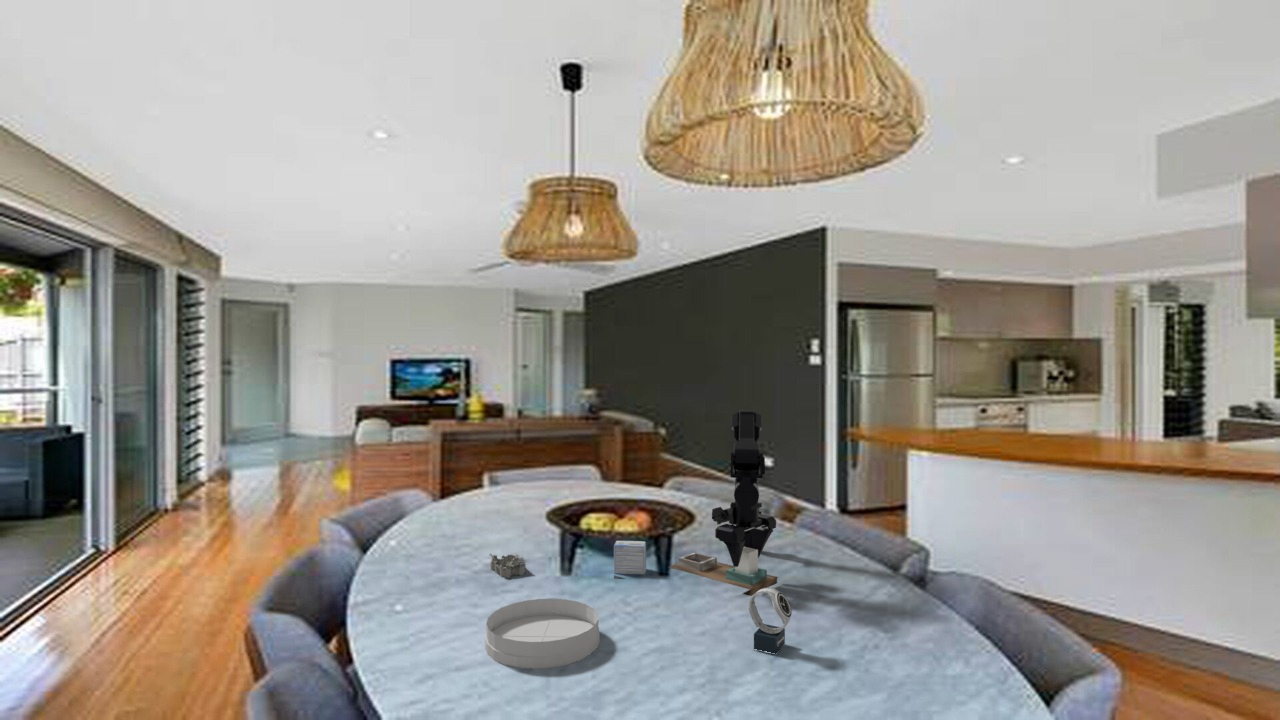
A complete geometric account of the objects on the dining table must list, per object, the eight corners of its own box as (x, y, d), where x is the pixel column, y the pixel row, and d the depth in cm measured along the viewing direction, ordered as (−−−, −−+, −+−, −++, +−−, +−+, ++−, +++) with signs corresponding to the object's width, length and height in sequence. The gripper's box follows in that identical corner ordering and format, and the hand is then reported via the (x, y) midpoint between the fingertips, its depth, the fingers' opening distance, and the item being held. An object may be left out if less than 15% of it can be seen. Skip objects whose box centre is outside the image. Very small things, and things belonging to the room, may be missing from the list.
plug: (744, 574, 168) (744, 546, 168) (757, 578, 165) (757, 549, 165) (735, 578, 165) (735, 550, 165) (748, 582, 162) (748, 553, 162)
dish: (500, 621, 143) (500, 597, 143) (604, 622, 142) (604, 598, 142) (471, 669, 121) (471, 641, 121) (593, 671, 120) (594, 643, 120)
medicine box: (646, 574, 172) (646, 541, 172) (644, 580, 168) (644, 545, 168) (615, 573, 173) (615, 540, 173) (613, 579, 169) (613, 545, 169)
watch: (785, 657, 125) (786, 598, 125) (745, 648, 129) (745, 590, 129) (794, 646, 130) (794, 589, 130) (755, 637, 134) (755, 582, 134)
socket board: (696, 562, 183) (696, 549, 183) (777, 583, 166) (777, 568, 166) (668, 572, 174) (668, 559, 174) (750, 595, 157) (750, 580, 157)
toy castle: (487, 568, 178) (487, 553, 178) (515, 563, 182) (515, 548, 182) (500, 579, 169) (500, 563, 169) (528, 574, 173) (528, 558, 173)
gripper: (740, 488, 177) (740, 547, 177) (697, 499, 163) (697, 564, 163) (777, 494, 170) (777, 556, 170) (735, 506, 156) (735, 574, 156)
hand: (746, 562), depth 165 cm, fingers open, 9 cm apart
